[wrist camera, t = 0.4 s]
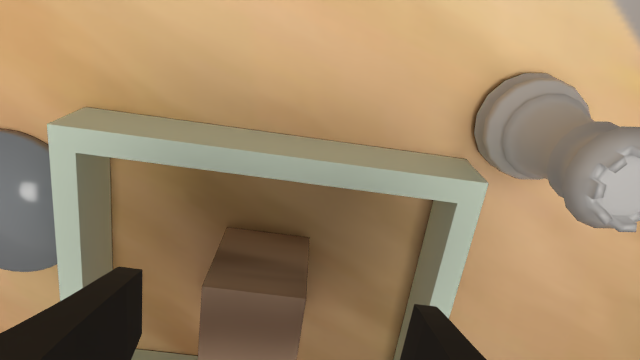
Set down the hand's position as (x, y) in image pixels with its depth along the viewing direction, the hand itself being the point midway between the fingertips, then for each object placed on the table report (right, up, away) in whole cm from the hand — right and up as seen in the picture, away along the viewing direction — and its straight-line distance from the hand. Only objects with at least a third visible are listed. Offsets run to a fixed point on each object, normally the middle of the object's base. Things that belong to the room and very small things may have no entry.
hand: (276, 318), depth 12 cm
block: (-2, -1, +11) cm, 11 cm away
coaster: (-13, +3, +10) cm, 17 cm away
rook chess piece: (+10, +6, +8) cm, 14 cm away
